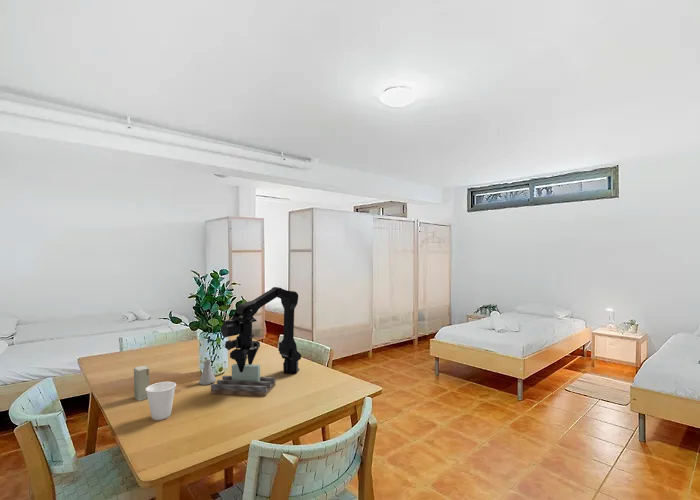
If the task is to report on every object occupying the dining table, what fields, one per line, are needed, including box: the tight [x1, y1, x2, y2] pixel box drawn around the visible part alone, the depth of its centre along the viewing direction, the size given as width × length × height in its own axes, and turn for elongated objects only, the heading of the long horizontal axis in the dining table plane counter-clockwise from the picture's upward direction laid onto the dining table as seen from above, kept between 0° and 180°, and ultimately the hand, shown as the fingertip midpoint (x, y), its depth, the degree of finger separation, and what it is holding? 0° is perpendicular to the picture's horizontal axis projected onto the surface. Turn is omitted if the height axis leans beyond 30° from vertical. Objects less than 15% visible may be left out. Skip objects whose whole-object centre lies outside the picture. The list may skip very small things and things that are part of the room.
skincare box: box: [133, 365, 151, 402], centre depth 149 cm, size 6×4×12 cm
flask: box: [198, 359, 217, 386], centre depth 166 cm, size 7×7×10 cm
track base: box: [210, 375, 276, 397], centre depth 157 cm, size 24×12×4 cm, turn 83°
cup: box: [145, 381, 177, 421], centre depth 132 cm, size 10×10×11 cm
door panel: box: [231, 363, 261, 381], centre depth 160 cm, size 12×2×8 cm, turn 83°
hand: (245, 368), depth 160 cm, fingers open, 9 cm apart
